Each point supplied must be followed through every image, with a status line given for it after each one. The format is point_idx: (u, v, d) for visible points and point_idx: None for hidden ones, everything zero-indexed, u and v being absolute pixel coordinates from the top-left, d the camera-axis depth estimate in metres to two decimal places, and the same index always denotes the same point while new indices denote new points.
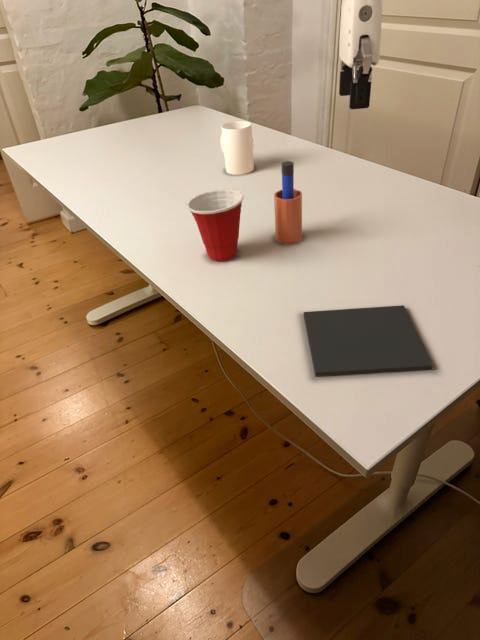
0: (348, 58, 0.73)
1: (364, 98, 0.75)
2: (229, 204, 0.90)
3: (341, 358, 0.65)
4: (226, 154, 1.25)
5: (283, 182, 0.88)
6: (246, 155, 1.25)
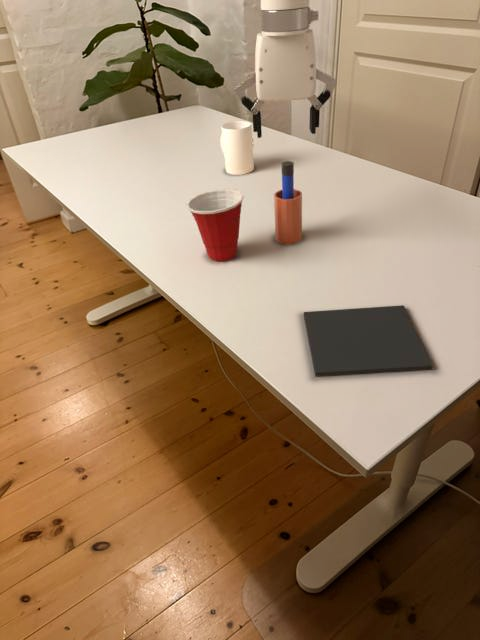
0: (310, 90, 0.77)
1: None
2: (229, 204, 0.90)
3: (341, 358, 0.65)
4: (226, 154, 1.25)
5: (283, 182, 0.88)
6: (246, 155, 1.25)
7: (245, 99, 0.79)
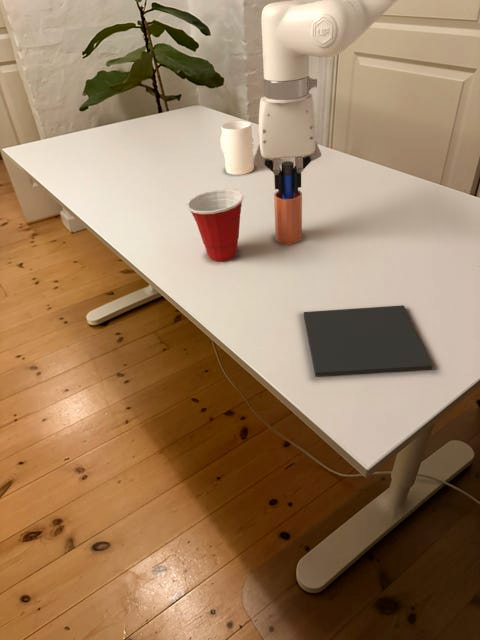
0: (310, 148, 0.83)
1: None
2: (229, 204, 0.90)
3: (341, 358, 0.65)
4: (226, 154, 1.25)
5: (283, 182, 0.88)
6: (246, 155, 1.25)
7: (268, 161, 0.86)
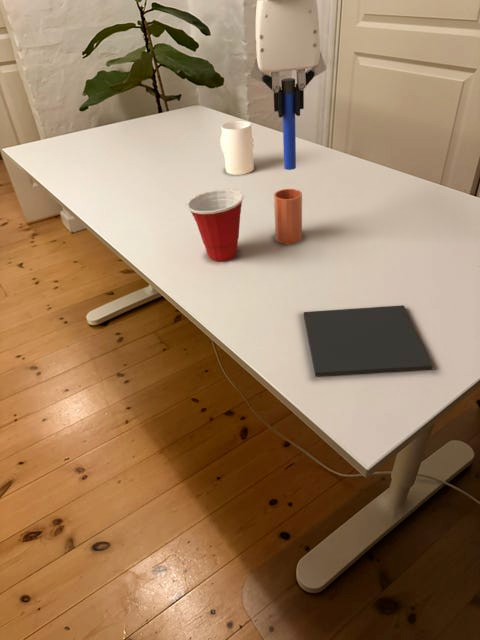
0: (313, 58, 0.74)
1: None
2: (229, 204, 0.90)
3: (341, 358, 0.65)
4: (226, 154, 1.25)
5: (284, 102, 0.79)
6: (246, 155, 1.25)
7: (266, 76, 0.77)
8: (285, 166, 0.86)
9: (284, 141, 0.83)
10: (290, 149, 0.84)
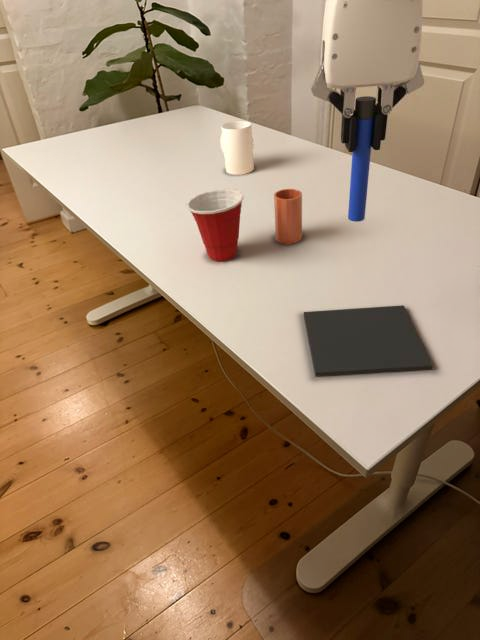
0: (409, 69, 0.50)
1: None
2: (229, 204, 0.90)
3: (341, 358, 0.65)
4: (226, 154, 1.25)
5: (357, 131, 0.55)
6: (246, 155, 1.25)
7: (336, 95, 0.52)
8: (350, 216, 0.62)
9: (352, 183, 0.59)
10: (360, 195, 0.59)
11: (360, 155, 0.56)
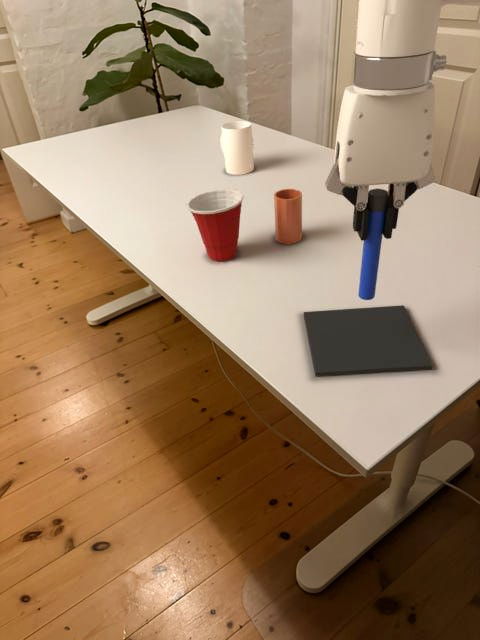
0: (421, 170, 0.51)
1: None
2: (229, 204, 0.90)
3: (341, 358, 0.65)
4: (226, 154, 1.25)
5: (369, 221, 0.56)
6: (246, 155, 1.25)
7: (349, 190, 0.54)
8: (361, 295, 0.63)
9: (363, 266, 0.61)
10: (371, 277, 0.61)
11: (372, 242, 0.58)
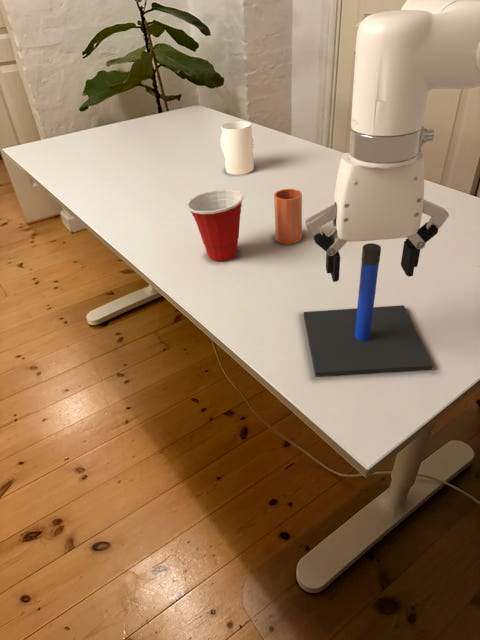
0: (412, 228, 0.56)
1: None
2: (229, 204, 0.90)
3: (341, 358, 0.65)
4: (226, 154, 1.25)
5: (364, 273, 0.61)
6: (246, 155, 1.25)
7: (320, 237, 0.58)
8: (357, 336, 0.68)
9: (359, 311, 0.65)
10: (366, 321, 0.66)
11: (366, 291, 0.62)
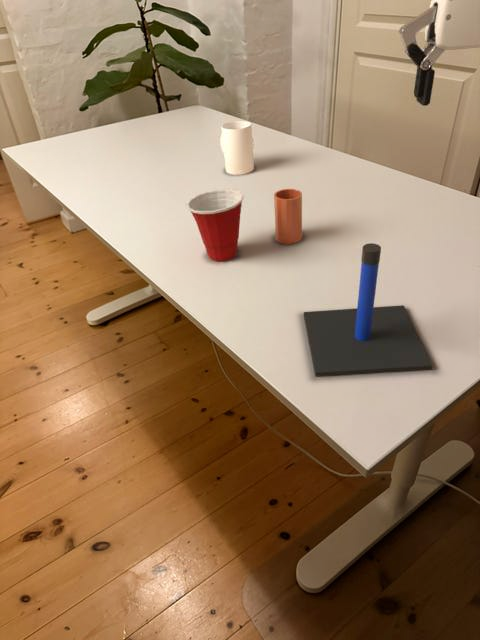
0: None
1: None
2: (229, 204, 0.90)
3: (341, 358, 0.65)
4: (226, 154, 1.25)
5: (364, 273, 0.61)
6: (246, 155, 1.25)
7: (415, 46, 0.54)
8: (357, 336, 0.68)
9: (359, 311, 0.65)
10: (366, 321, 0.66)
11: (366, 291, 0.62)
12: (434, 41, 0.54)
